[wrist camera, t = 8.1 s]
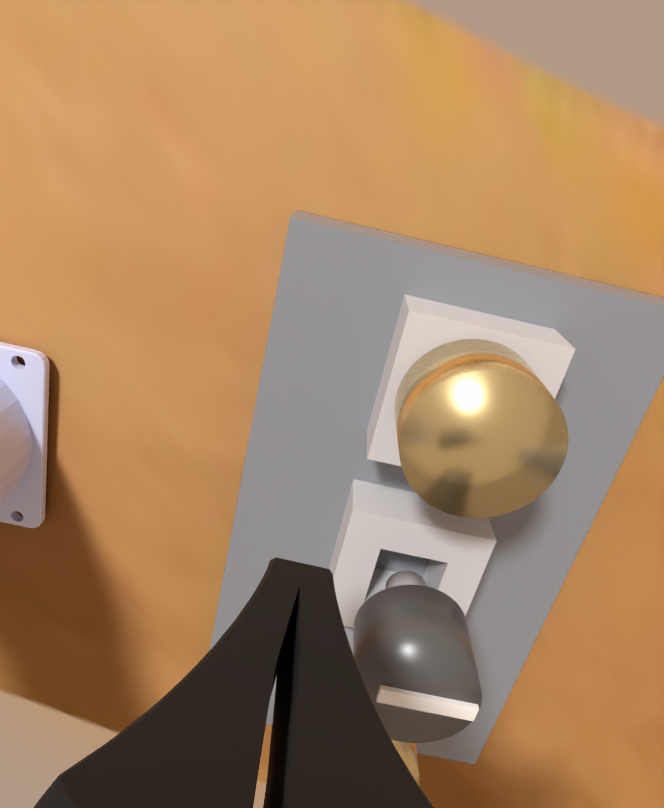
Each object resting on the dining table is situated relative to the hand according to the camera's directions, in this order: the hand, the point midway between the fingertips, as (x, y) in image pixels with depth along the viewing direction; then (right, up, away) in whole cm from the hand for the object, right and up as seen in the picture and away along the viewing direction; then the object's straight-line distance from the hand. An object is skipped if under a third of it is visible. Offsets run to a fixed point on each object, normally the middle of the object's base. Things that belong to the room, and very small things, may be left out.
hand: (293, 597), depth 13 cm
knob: (+5, +5, +7) cm, 10 cm away
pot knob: (+3, -2, +7) cm, 9 cm away
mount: (+4, 0, +11) cm, 12 cm away
